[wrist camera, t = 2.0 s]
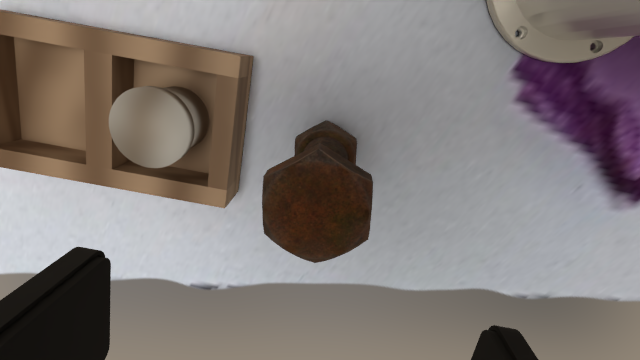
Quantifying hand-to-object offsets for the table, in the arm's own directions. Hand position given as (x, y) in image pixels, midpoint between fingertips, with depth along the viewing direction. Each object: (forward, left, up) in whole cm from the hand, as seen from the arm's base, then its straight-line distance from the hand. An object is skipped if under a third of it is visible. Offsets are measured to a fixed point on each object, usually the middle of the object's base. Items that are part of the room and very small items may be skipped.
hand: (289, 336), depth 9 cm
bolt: (0, 0, -24) cm, 24 cm away
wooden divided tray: (+17, 0, -23) cm, 29 cm away
